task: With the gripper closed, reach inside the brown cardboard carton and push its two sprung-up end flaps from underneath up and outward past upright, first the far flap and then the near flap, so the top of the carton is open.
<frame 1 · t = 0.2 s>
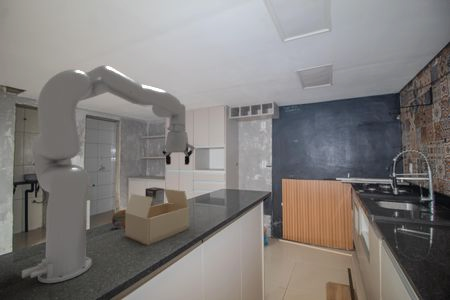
hand: (177, 164, 97), 30 cm above the counter, tool pointing down, fingers open, 9 cm apart
coffee box: (154, 217, 113), on the counter
far flap: (176, 197, 99), point 14 cm above the counter, hinge at 70.0°
tin: (129, 226, 99), on the counter
near flap: (138, 205, 83), point 14 cm above the counter, hinge at 70.0°
carton: (158, 232, 90), on the counter
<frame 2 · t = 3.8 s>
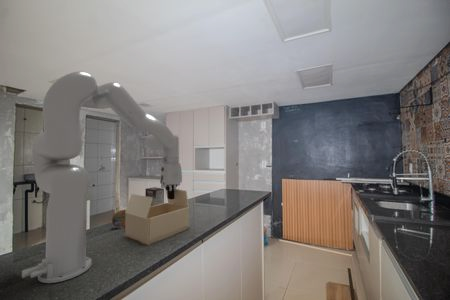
hand: (171, 198, 97), 14 cm above the counter, tool pointing down, fingers closed
far flap: (176, 196, 100), point 14 cm above the counter, hinge at 77.1°, touching gripper
everything else where it was.
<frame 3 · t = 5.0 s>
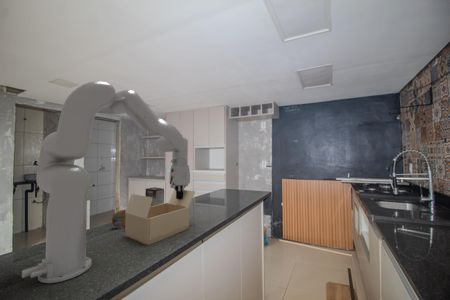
hand: (179, 198, 101), 13 cm above the counter, tool pointing down, fingers closed
far flap: (181, 197, 102), point 13 cm above the counter, hinge at 123.0°, touching gripper
everything else where it was.
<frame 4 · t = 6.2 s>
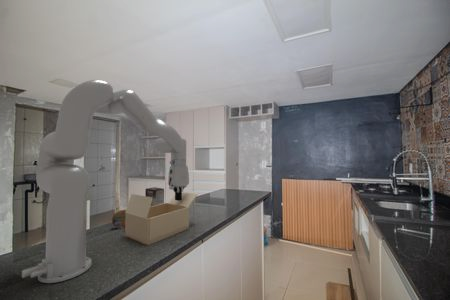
hand: (178, 200, 100), 12 cm above the counter, tool pointing down, fingers closed
far flap: (182, 199, 103), point 12 cm above the counter, hinge at 140.0°
everything else where it was.
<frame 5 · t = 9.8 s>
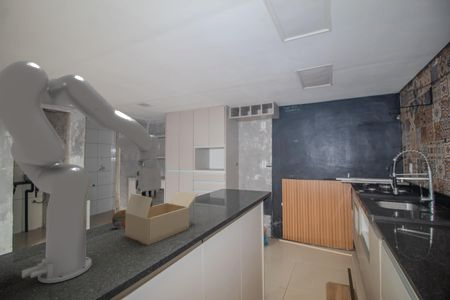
hand: (148, 206, 86), 13 cm above the counter, tool pointing down, fingers closed
far flap: (182, 199, 103), point 12 cm above the counter, hinge at 140.5°
near flap: (138, 205, 83), point 14 cm above the counter, hinge at 70.4°, touching gripper
everything else where it was.
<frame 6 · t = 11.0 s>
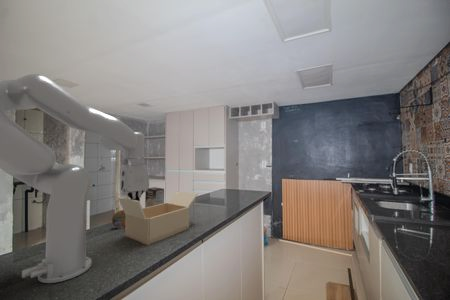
hand: (135, 207, 82), 13 cm above the counter, tool pointing down, fingers closed
near flap: (131, 207, 80), point 14 cm above the counter, hinge at 112.8°, touching gripper
everything else where it was.
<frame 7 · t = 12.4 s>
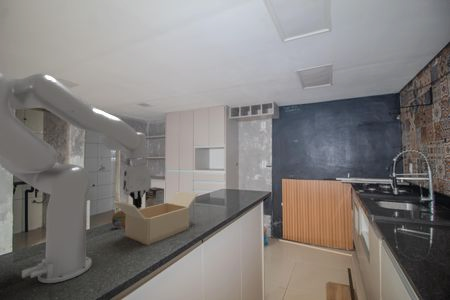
hand: (137, 207, 82), 13 cm above the counter, tool pointing down, fingers closed
near flap: (129, 210, 80), point 13 cm above the counter, hinge at 128.9°
everything else where it was.
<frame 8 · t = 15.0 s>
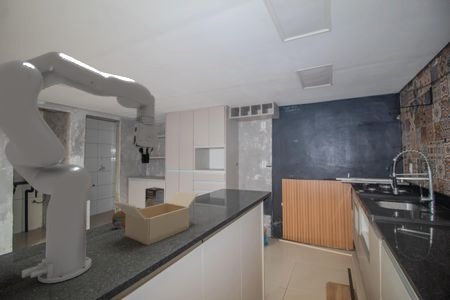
hand: (145, 163, 89), 31 cm above the counter, tool pointing down, fingers closed
near flap: (129, 210, 80), point 13 cm above the counter, hinge at 129.3°
everything else where it was.
at the end: far flap at +140° (first picture: +70°); near flap at +129° (first picture: +70°) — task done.
